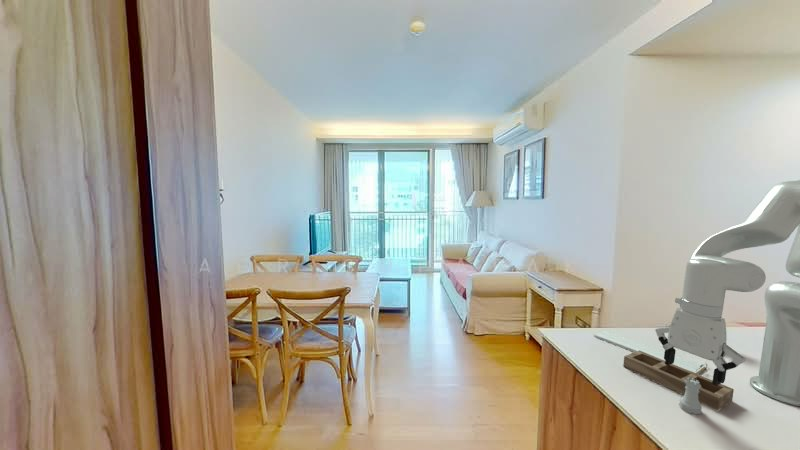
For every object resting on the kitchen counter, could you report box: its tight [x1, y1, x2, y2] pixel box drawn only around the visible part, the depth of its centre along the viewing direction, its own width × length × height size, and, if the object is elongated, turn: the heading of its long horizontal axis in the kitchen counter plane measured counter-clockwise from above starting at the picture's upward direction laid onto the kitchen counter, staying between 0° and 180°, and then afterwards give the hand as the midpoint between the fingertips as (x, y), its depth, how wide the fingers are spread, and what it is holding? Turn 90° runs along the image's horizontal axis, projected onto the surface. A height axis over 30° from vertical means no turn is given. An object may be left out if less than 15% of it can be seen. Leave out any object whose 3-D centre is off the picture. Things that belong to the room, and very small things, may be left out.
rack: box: [622, 350, 735, 412], centre depth 94 cm, size 9×23×4 cm, turn 26°
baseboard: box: [593, 330, 708, 375], centre depth 113 cm, size 30×3×10 cm
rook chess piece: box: [678, 378, 703, 415], centre depth 82 cm, size 4×4×8 cm
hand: (691, 373), depth 81 cm, fingers open, 9 cm apart
